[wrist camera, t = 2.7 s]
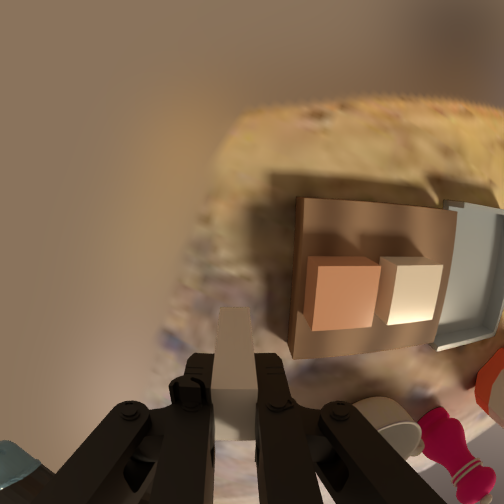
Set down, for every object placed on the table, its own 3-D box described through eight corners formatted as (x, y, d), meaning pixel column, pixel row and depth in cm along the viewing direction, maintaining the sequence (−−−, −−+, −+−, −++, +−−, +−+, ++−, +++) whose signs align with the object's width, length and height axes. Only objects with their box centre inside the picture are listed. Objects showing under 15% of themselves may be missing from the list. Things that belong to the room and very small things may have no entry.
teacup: (302, 432, 31) (316, 480, 23) (359, 373, 29) (388, 417, 21) (371, 449, 33) (390, 486, 25) (421, 399, 31) (449, 433, 24)
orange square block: (303, 314, 24) (311, 331, 21) (307, 256, 23) (318, 266, 20) (357, 311, 24) (371, 326, 21) (364, 256, 23) (381, 265, 20)
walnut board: (287, 343, 27) (292, 359, 25) (296, 196, 24) (304, 198, 22) (419, 330, 29) (433, 342, 26) (439, 208, 26) (457, 211, 23)
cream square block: (372, 310, 24) (387, 325, 21) (379, 256, 23) (397, 265, 20) (415, 307, 24) (432, 319, 21) (424, 256, 23) (443, 265, 20)
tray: (421, 337, 29) (436, 351, 25) (443, 199, 25) (464, 202, 22) (479, 325, 30) (494, 335, 26) (500, 209, 26) (519, 213, 23)
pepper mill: (452, 410, 33) (513, 484, 14) (421, 440, 34) (472, 519, 15) (437, 399, 32) (507, 484, 12) (403, 432, 33) (459, 524, 13)
